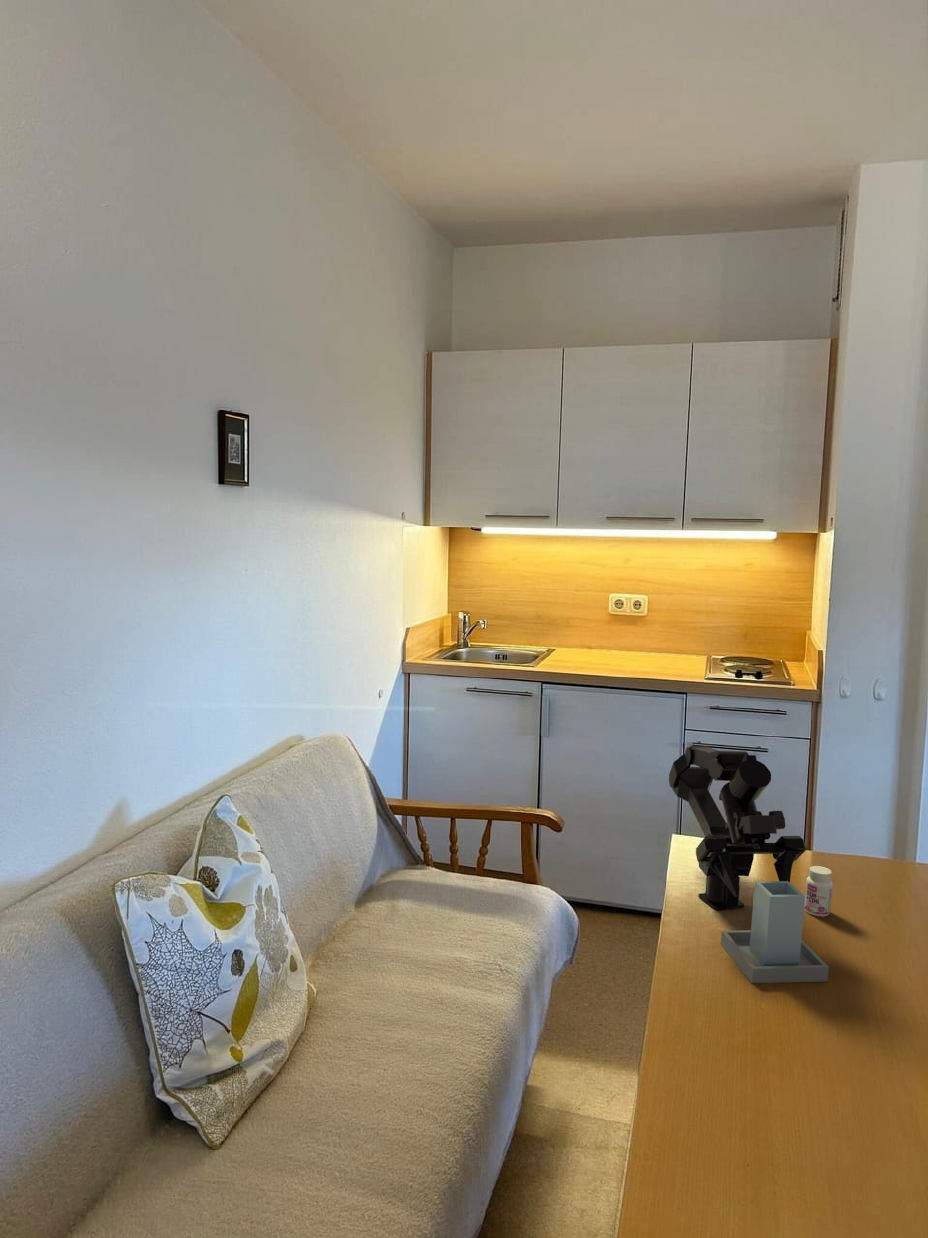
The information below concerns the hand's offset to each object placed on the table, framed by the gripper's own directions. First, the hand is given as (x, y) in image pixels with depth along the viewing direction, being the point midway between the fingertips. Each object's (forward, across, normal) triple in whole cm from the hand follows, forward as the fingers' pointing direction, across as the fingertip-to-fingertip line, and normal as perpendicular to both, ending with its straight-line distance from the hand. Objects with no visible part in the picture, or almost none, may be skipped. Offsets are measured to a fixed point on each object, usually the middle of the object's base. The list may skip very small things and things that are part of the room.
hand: (761, 895), depth 158 cm
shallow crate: (+11, 0, +2) cm, 11 cm away
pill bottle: (-2, +18, +16) cm, 24 cm away
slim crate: (+10, 0, +2) cm, 11 cm away
